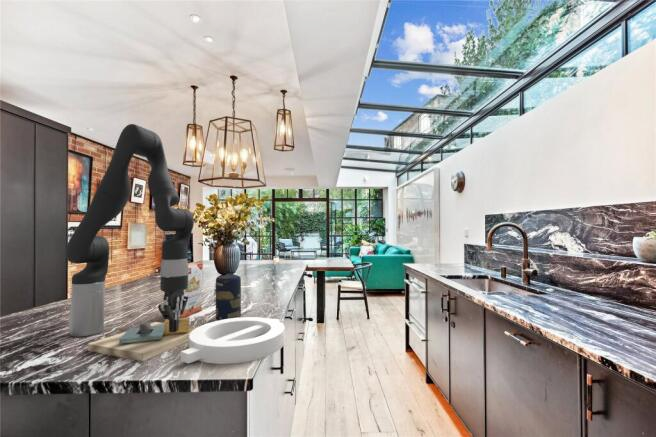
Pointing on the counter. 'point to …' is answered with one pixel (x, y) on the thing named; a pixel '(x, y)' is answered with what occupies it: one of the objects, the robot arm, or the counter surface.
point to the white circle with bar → (235, 340)
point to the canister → (228, 297)
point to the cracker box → (193, 289)
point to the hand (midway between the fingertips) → (173, 331)
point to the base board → (140, 344)
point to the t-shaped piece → (153, 332)
